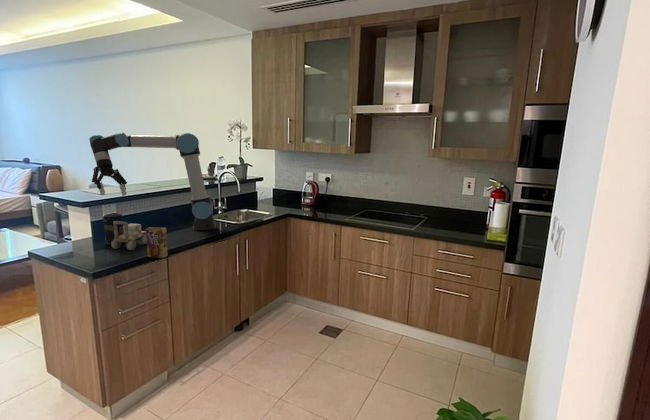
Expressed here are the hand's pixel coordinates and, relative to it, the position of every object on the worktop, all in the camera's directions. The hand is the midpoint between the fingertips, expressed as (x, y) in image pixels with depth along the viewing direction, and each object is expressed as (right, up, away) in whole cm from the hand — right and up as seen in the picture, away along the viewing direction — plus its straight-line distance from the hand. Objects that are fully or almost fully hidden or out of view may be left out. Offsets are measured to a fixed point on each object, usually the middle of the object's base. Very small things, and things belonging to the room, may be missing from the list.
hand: (114, 194), depth 196 cm
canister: (-1, -28, +2) cm, 28 cm away
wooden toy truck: (+11, -29, -1) cm, 31 cm away
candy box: (+33, -33, -16) cm, 49 cm away
